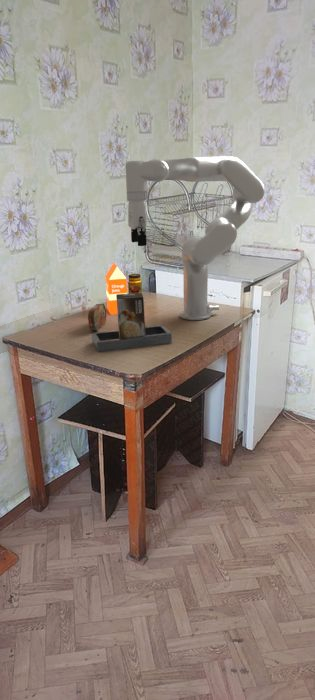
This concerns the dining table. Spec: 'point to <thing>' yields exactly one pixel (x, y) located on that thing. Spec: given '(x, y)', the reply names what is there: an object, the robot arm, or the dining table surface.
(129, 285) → the condiment
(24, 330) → the dining table surface
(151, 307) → the dining table surface
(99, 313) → the tin
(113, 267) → the orange juice
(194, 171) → the robot arm
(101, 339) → the dark grey tray
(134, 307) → the coffee box
